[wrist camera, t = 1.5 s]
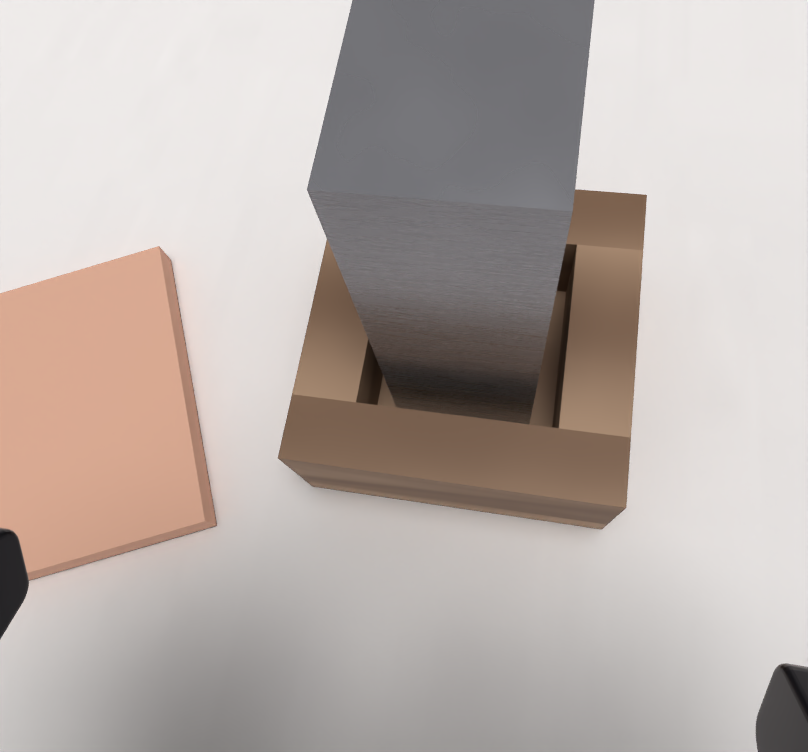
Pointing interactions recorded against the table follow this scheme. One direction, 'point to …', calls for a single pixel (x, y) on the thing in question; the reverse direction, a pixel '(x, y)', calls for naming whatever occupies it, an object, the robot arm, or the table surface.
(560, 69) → the peg
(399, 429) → the socket block
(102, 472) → the mat
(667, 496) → the table surface
